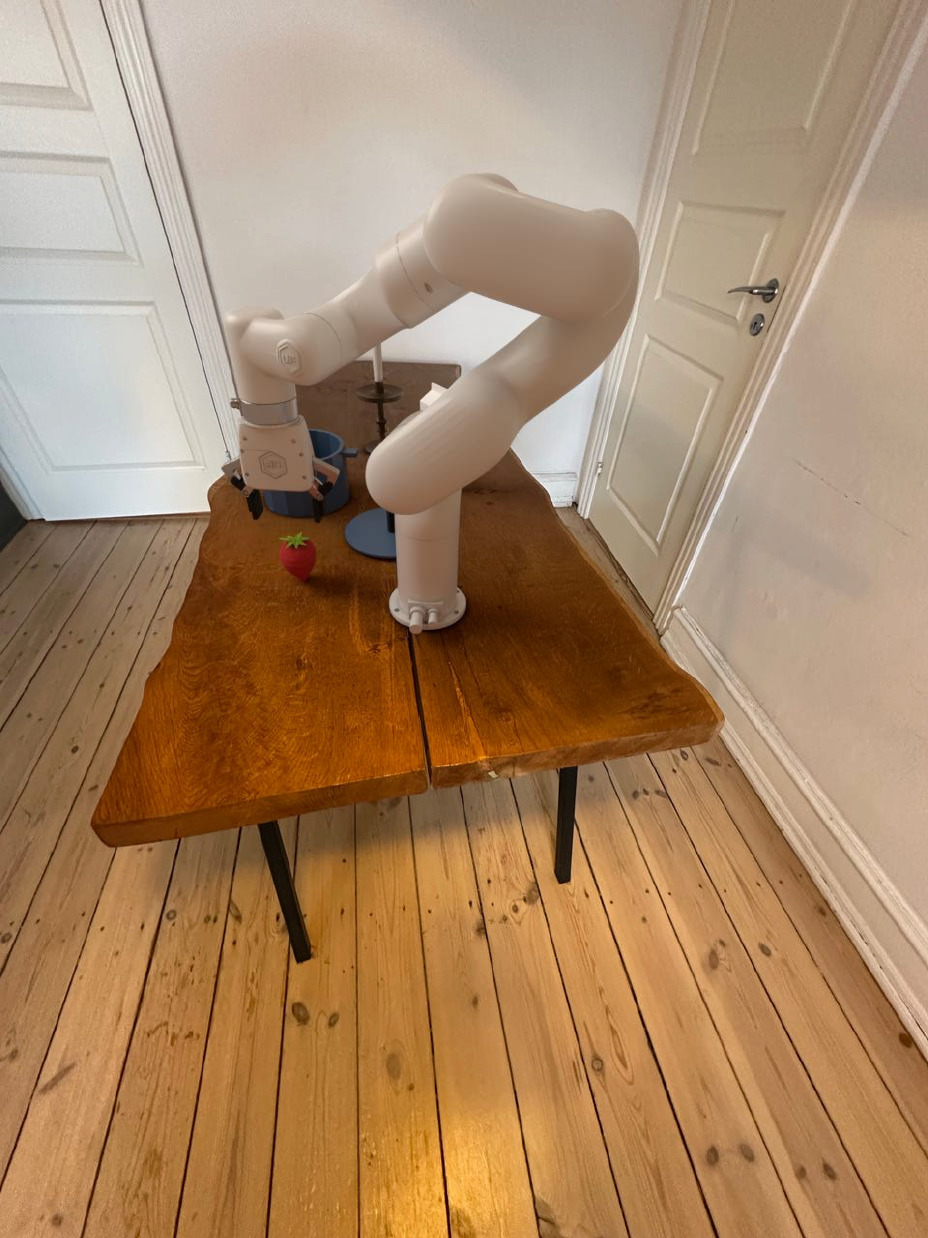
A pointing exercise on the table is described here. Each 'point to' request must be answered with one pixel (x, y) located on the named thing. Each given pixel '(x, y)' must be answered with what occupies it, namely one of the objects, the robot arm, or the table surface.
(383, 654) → the table surface
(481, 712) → the table surface
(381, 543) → the lid
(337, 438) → the pot
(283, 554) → the strawberry
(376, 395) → the candlestick
